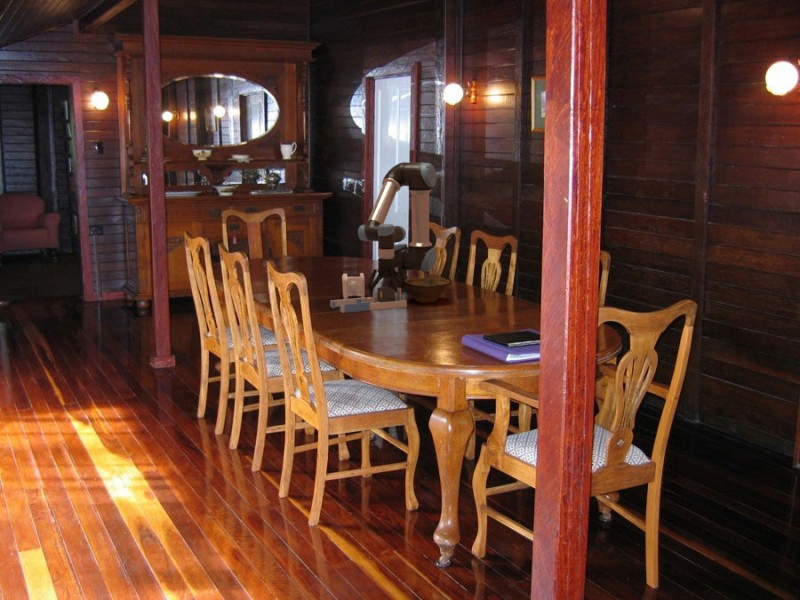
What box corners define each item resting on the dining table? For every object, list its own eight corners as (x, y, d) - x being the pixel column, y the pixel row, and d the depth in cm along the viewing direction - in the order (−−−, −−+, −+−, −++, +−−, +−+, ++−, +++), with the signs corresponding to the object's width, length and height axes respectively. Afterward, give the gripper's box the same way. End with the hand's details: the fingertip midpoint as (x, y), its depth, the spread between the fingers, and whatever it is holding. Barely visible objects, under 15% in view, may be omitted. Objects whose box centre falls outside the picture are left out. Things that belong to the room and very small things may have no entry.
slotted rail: (392, 301, 442) (392, 293, 441) (407, 307, 428) (407, 299, 427) (330, 306, 428) (330, 298, 428) (343, 313, 414) (343, 304, 414)
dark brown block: (387, 303, 437) (387, 286, 436) (395, 306, 429) (395, 289, 428) (377, 304, 435) (377, 287, 434) (385, 307, 427) (385, 290, 426)
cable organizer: (364, 301, 443) (364, 277, 441) (342, 301, 442) (342, 277, 440) (363, 295, 457) (363, 272, 455) (342, 295, 457) (342, 272, 454)
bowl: (457, 299, 448) (457, 278, 446) (438, 307, 428) (439, 286, 426) (415, 295, 457) (415, 275, 455) (396, 303, 437) (396, 282, 435)
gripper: (406, 255, 437) (406, 299, 441) (358, 258, 426) (358, 303, 430) (413, 257, 430) (413, 301, 434) (364, 260, 419) (364, 306, 423)
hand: (386, 302), depth 432 cm, fingers open, 13 cm apart
